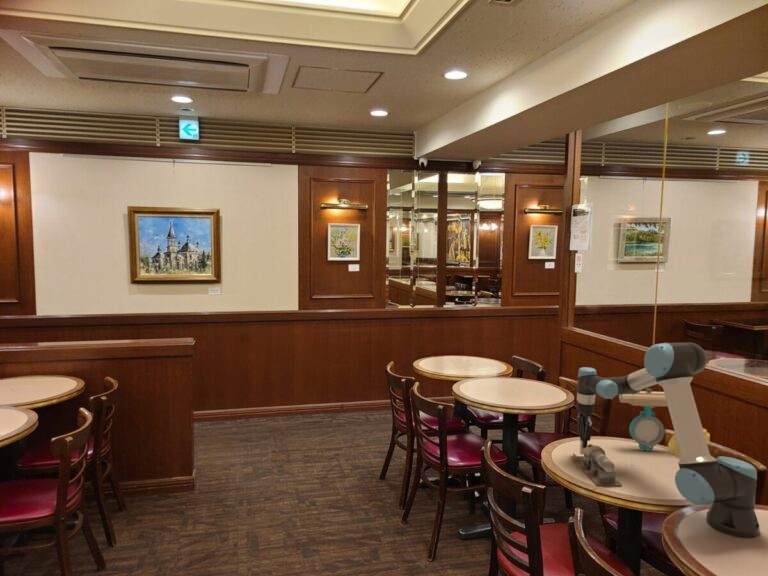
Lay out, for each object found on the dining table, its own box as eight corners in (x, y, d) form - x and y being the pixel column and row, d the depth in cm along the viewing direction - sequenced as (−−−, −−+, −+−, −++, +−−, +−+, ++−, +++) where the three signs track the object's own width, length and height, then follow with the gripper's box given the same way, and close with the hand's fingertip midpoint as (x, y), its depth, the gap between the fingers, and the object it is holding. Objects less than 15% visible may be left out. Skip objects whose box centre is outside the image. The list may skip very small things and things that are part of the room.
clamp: (712, 468, 226) (714, 433, 225) (690, 468, 227) (692, 432, 226) (687, 451, 246) (689, 418, 245) (667, 450, 247) (669, 417, 246)
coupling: (603, 469, 220) (604, 446, 220) (586, 469, 220) (588, 446, 220) (598, 463, 226) (599, 441, 225) (581, 463, 226) (582, 441, 225)
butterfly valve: (671, 448, 249) (674, 387, 246) (677, 454, 242) (681, 391, 239) (613, 445, 251) (616, 385, 249) (618, 451, 244) (621, 389, 242)
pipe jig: (621, 487, 207) (623, 459, 206) (596, 487, 207) (598, 459, 206) (591, 458, 236) (593, 433, 235) (570, 457, 236) (571, 433, 235)
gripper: (600, 407, 225) (597, 459, 227) (588, 398, 238) (585, 448, 240) (583, 406, 225) (580, 459, 227) (571, 397, 238) (569, 447, 240)
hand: (583, 453), depth 233 cm, fingers closed
